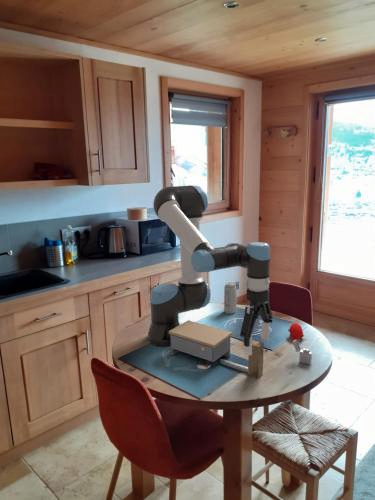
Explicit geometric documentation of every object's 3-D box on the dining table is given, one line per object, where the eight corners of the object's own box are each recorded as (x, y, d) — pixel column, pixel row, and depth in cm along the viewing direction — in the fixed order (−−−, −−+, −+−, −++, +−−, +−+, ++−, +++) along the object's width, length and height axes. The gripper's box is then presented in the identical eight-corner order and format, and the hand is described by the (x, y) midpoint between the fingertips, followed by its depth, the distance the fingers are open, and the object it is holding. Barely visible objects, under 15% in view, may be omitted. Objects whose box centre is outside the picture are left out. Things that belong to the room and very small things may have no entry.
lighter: (311, 362, 144) (312, 343, 143) (310, 364, 143) (311, 344, 141) (292, 357, 148) (293, 338, 146) (291, 359, 147) (292, 340, 145)
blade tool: (218, 364, 144) (218, 335, 141) (222, 361, 146) (223, 331, 144) (258, 378, 134) (259, 346, 132) (262, 374, 137) (263, 343, 134)
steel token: (194, 367, 142) (194, 365, 142) (201, 362, 146) (201, 359, 146) (205, 371, 140) (205, 369, 139) (212, 365, 144) (212, 363, 143)
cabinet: (167, 355, 151) (167, 332, 149) (188, 342, 162) (188, 320, 160) (212, 371, 139) (213, 346, 137) (232, 356, 150) (232, 332, 148)
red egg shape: (287, 325, 169) (285, 323, 164) (301, 323, 168) (299, 320, 162) (292, 344, 166) (289, 342, 161) (306, 341, 164) (304, 339, 159)
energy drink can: (237, 313, 192) (238, 285, 189) (226, 314, 191) (226, 286, 188) (233, 309, 198) (234, 281, 195) (222, 310, 197) (222, 282, 194)
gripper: (251, 300, 118) (250, 364, 122) (282, 281, 137) (281, 336, 142) (229, 296, 122) (229, 357, 126) (263, 277, 142) (262, 331, 146)
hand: (256, 346), depth 134 cm, fingers open, 13 cm apart
